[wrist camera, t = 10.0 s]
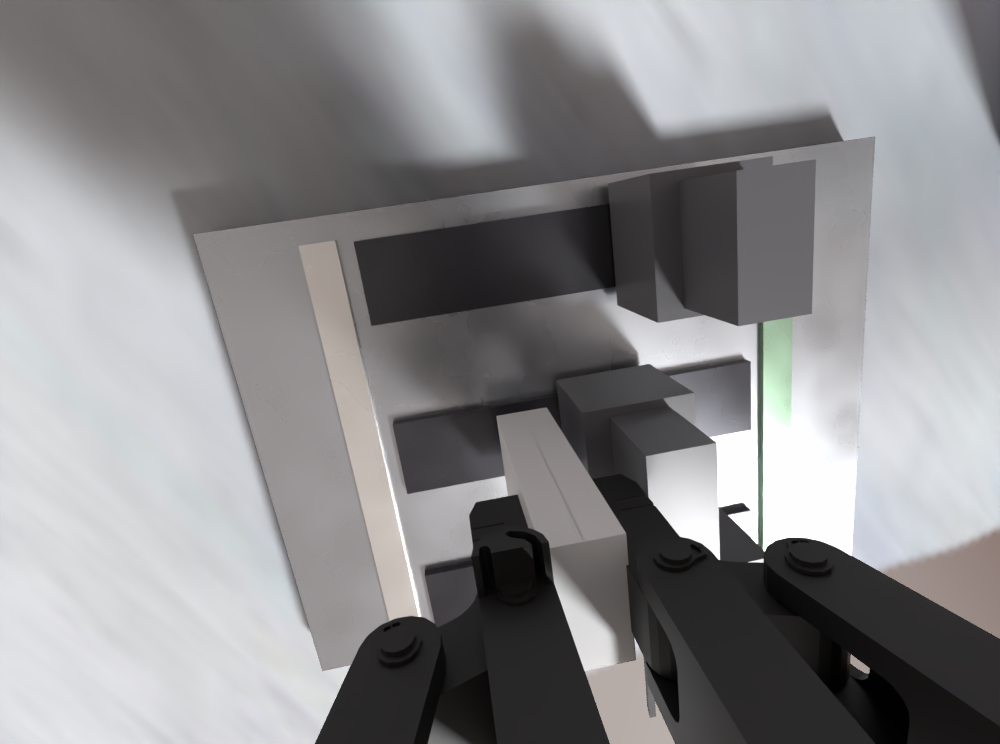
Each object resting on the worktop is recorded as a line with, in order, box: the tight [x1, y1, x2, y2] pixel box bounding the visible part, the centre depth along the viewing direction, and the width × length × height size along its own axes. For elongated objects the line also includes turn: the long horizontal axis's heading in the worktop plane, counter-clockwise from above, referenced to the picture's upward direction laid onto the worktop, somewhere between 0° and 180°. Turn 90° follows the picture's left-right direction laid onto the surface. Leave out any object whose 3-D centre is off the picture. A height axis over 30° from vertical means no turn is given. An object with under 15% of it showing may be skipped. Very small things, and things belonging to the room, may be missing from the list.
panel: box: [193, 137, 875, 671], centre depth 18 cm, size 15×20×2 cm
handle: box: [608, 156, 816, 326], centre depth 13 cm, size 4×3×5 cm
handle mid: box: [556, 364, 720, 560], centre depth 14 cm, size 4×3×5 cm
